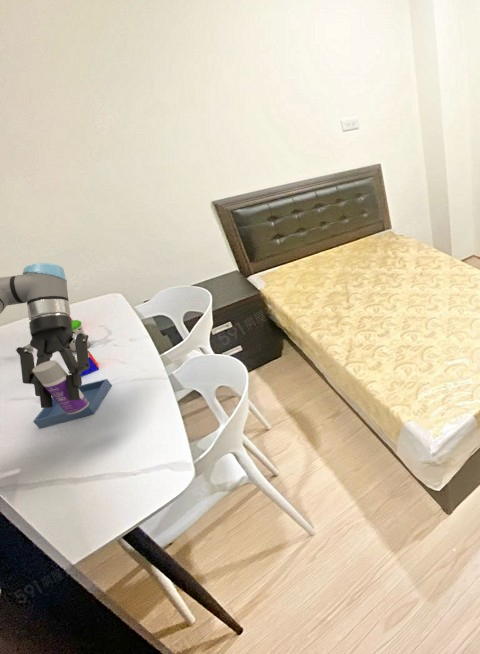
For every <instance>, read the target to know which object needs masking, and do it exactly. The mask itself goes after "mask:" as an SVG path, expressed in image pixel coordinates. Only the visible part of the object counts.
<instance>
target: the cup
mask: <svg viewBox="0 0 480 654" xmlns="http://www.w3.org/2000/svg"><path fill="white" fill-rule="evenodd" d="M72 320H73V321H72V328H73V329H72V331H73V332H74V333H75V334H79V333H83V334H86V333H85V330H84V328H83V326H82V321H81V320H78V319H75V320H74V319H72ZM90 346H91V344H90V342H89V340H87V349H88V348H90ZM70 347H71V349H72V352H75V353H76V347H75V341H74V339H73V340H72V342H71V343H70Z"/></svg>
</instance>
